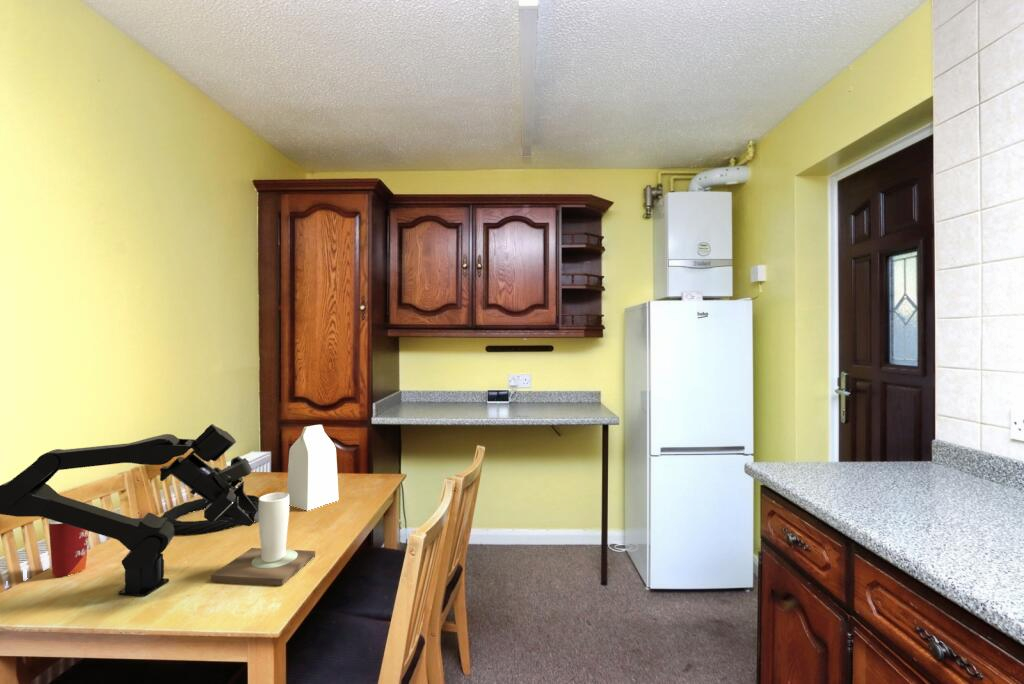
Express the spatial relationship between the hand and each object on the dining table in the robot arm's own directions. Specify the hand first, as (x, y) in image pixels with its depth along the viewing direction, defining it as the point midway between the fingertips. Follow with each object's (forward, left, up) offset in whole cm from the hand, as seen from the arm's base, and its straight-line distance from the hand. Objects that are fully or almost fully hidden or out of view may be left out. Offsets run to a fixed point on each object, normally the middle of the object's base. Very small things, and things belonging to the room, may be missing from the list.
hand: (253, 517), depth 110 cm
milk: (+45, +10, -12) cm, 48 cm away
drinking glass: (+2, -4, -11) cm, 12 cm away
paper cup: (-6, +42, -12) cm, 44 cm away
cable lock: (+29, +32, -13) cm, 45 cm away
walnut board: (0, -3, -12) cm, 13 cm away
